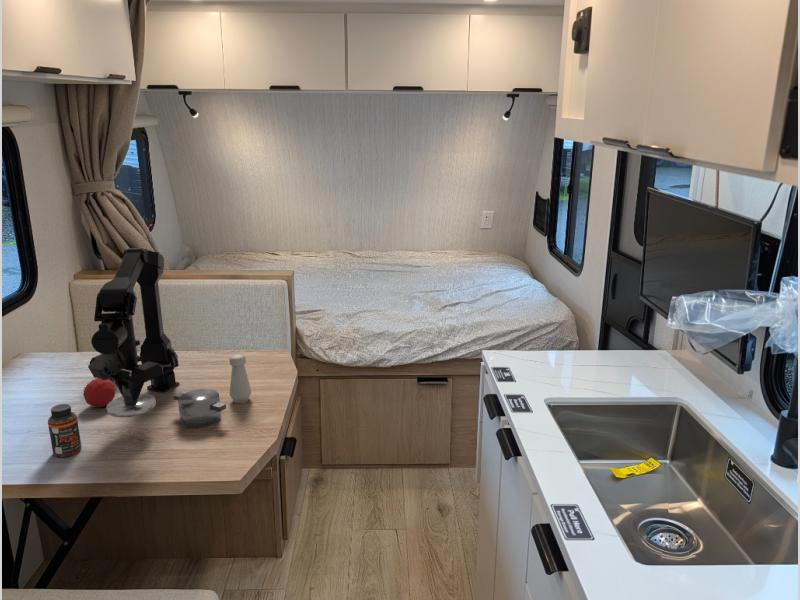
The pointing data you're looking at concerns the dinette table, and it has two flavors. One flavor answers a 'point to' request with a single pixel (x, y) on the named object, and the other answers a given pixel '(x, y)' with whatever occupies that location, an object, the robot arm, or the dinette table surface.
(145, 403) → the cooker lid
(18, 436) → the dinette table surface
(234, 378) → the salt shaker
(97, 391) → the tomato
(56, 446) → the supplement bottle
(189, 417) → the cooker pot
